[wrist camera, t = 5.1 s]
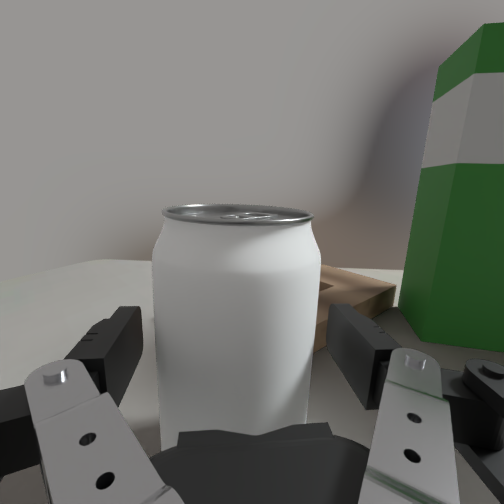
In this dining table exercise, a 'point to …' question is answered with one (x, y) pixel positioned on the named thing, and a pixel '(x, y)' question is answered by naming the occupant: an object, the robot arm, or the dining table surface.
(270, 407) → the can
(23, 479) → the dining table surface
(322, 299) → the notched board
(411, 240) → the hardback book
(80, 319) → the dining table surface
